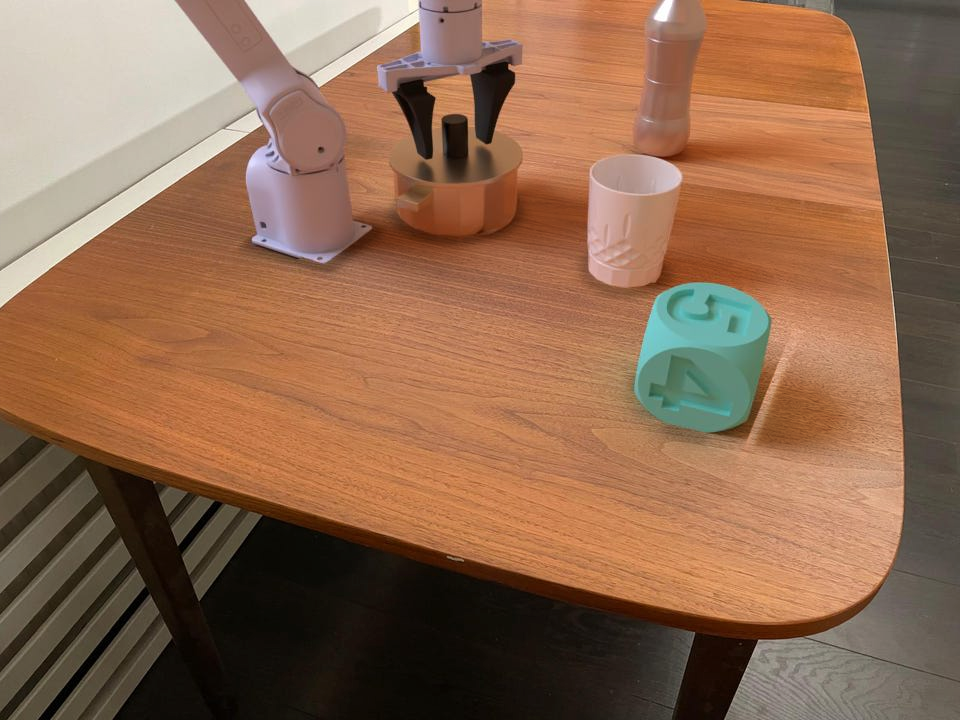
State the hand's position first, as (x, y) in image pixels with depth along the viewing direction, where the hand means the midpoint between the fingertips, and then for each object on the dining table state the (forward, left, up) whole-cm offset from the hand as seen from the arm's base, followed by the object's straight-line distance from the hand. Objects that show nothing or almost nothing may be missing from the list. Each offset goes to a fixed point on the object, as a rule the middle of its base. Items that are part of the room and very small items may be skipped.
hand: (454, 148), depth 77 cm
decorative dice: (+31, -17, -7) cm, 36 cm away
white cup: (+20, -3, -7) cm, 21 cm away
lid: (0, 0, -1) cm, 1 cm away
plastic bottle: (+14, +24, -7) cm, 29 cm away
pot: (0, 0, -7) cm, 7 cm away
